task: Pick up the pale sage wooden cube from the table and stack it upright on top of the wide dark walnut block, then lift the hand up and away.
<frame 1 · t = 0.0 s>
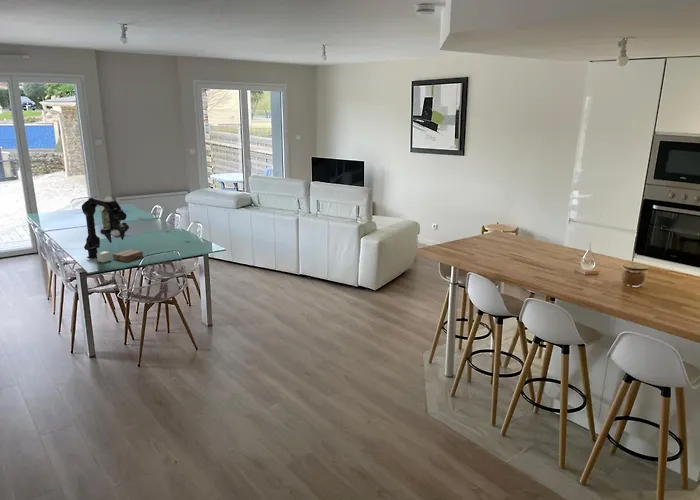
hand: (116, 241, 351), 15 cm above the table, fingers open, 9 cm apart
sage cube: (104, 260, 358), on the table
walnut block: (128, 258, 364), on the table
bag: (111, 227, 467), on the table
small box: (117, 235, 436), on the table
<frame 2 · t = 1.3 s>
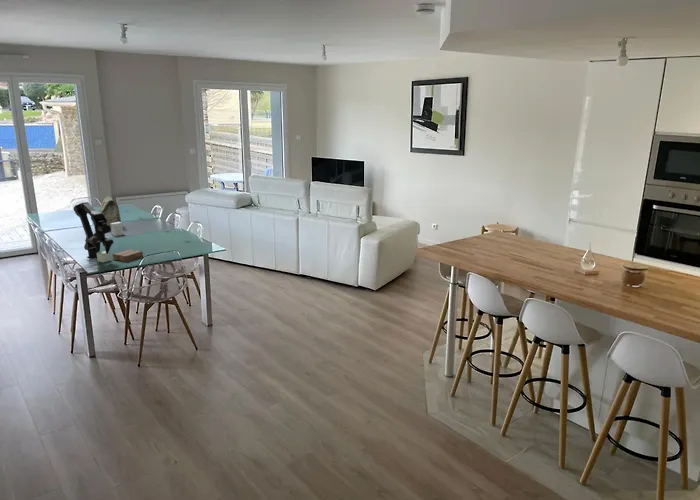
hand: (103, 252, 357), 6 cm above the table, fingers open, 9 cm apart
nothing on the table moved.
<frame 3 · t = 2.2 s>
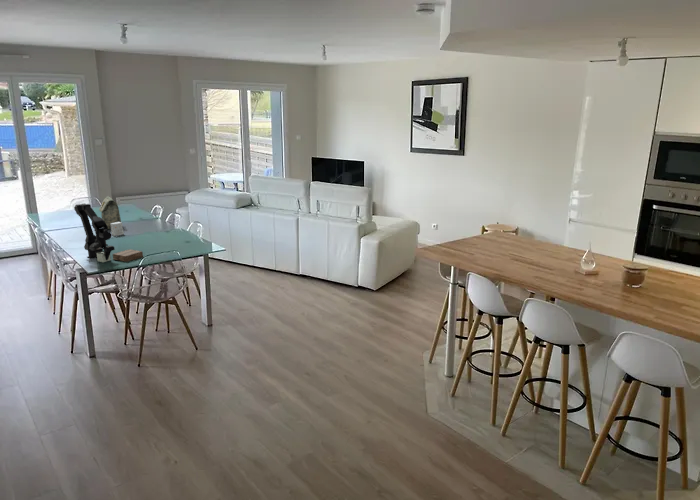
hand: (104, 259, 358), 1 cm above the table, fingers closed on sage cube, 6 cm apart
sage cube: (104, 260, 358), on the table, touching gripper
everything else where it was.
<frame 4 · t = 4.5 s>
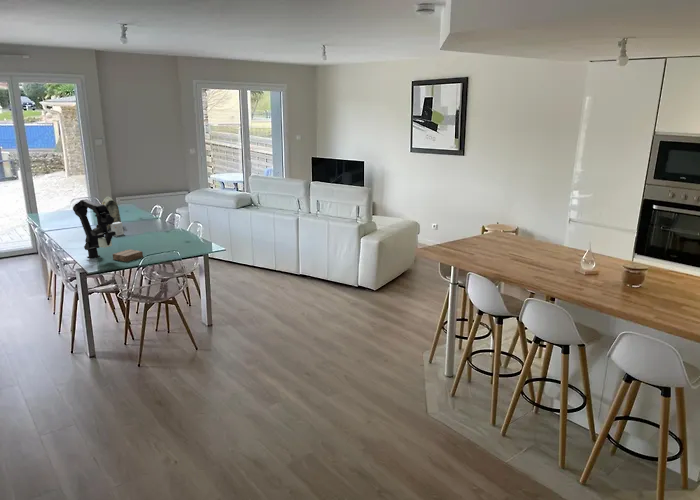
hand: (105, 244, 356), 11 cm above the table, fingers closed on sage cube, 6 cm apart
sage cube: (105, 246, 356), point 10 cm above the table, touching gripper
everything else where it was.
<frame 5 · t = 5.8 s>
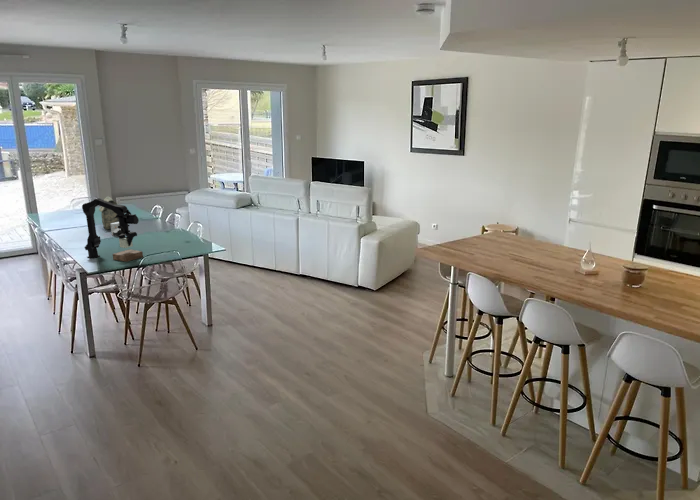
hand: (126, 245, 361), 9 cm above the table, fingers closed on sage cube, 6 cm apart
sage cube: (126, 246, 361), point 8 cm above the table, touching gripper
everything else where it was.
when the fingers open (6 cm above the table, at t = 6.7 s): sage cube drops 1 cm, resting on walnut block.
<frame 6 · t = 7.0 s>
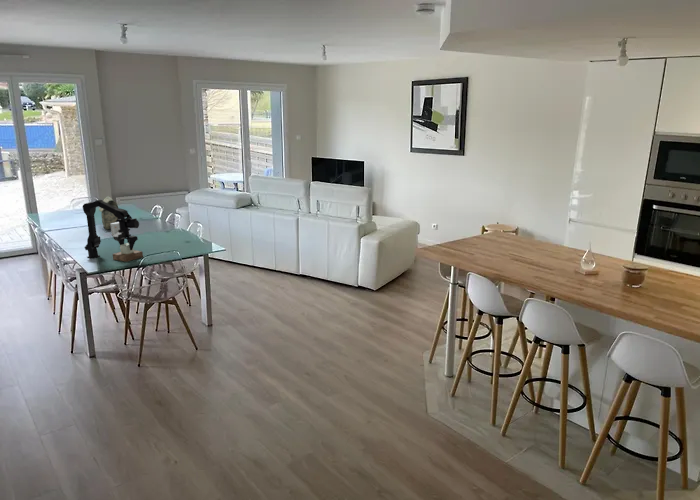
hand: (127, 249, 362), 6 cm above the table, fingers open, 9 cm apart
sage cube: (127, 252, 362), point 4 cm above the table, touching walnut block
everything else where it was.
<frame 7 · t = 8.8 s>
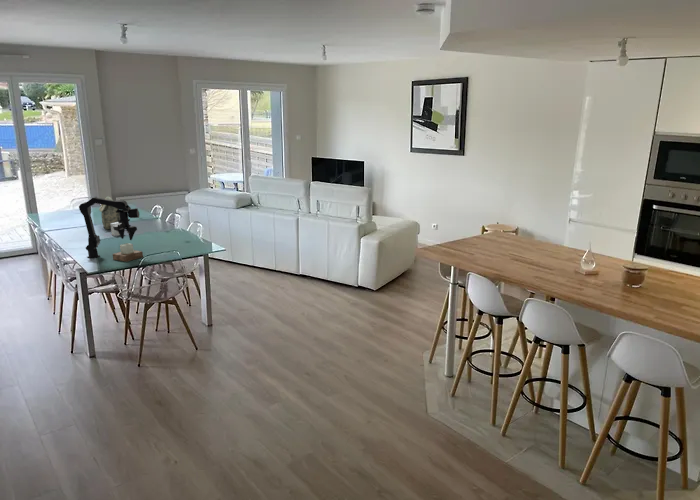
hand: (126, 239, 368), 12 cm above the table, fingers open, 9 cm apart
nothing on the table moved.
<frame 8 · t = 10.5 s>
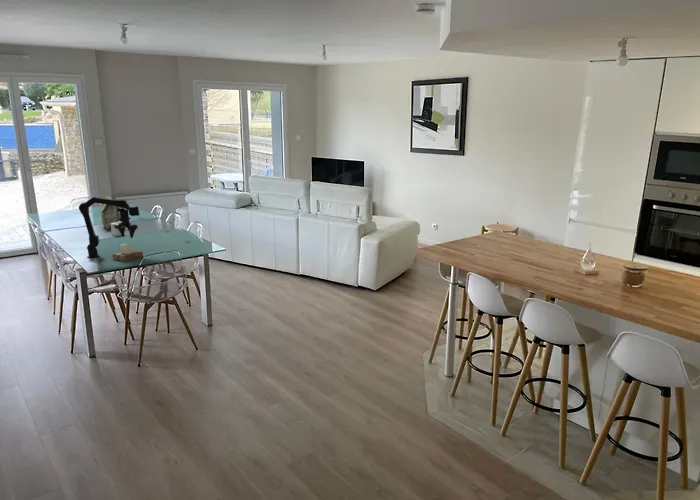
hand: (127, 237, 373), 12 cm above the table, fingers open, 9 cm apart
nothing on the table moved.
at the end: sage cube 0.1 cm off-centre on the walnut block, point 4.0 cm above the walnut block's base; sage cube tilted 0°; the gripper is holding nothing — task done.
